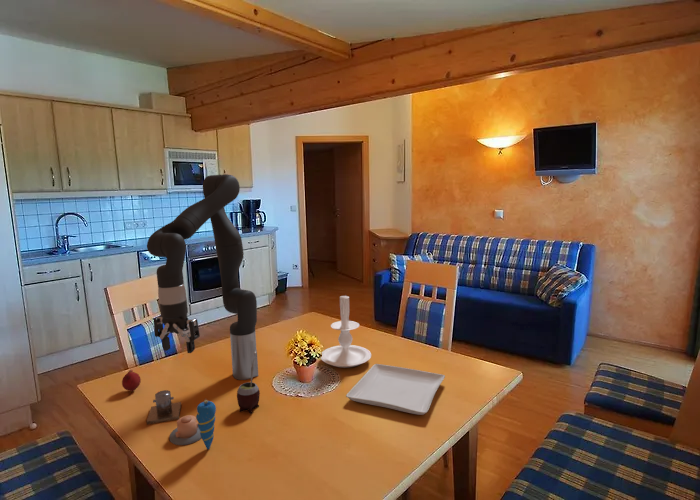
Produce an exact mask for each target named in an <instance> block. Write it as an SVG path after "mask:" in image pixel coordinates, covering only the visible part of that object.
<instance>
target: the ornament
mask: <svg viewBox="0 0 700 500" xmlns="http://www.w3.org/2000/svg"><path fill="white" fill-rule="evenodd" d="M196 412H197V413H196V416H195V417H196V422H197V423H198V428H199V430H200V435H201V440H202V441H203V443H204V445H205V448H206V449H207V450H210V448H211V446H212V444H213V440H214V436H215V435H214V432H215V422H216V412H217V407H216V404H215V403H214V402H213V401H210V400H208V399H207V398H204V401H202V402H200V403H199V404H198V405H197V407H196Z"/></svg>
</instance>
